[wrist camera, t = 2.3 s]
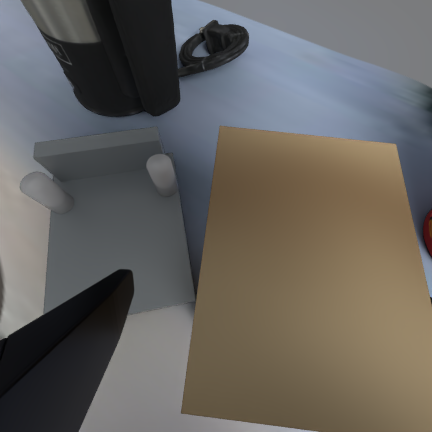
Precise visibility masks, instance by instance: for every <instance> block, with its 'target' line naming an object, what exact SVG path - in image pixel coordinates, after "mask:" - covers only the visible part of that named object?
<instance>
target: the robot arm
mask: <svg viewBox="0 0 432 432" xmlns="http://www.w3.org/2000/svg"><path fill="white" fill-rule="evenodd" d="M133 296H134V279H133V272H132V270H130V269H119V270H117V271H115V272H113V273H112V274H110V275H108V276H107V277H105V278H103V279H102V280H100V281H98V282H97V283H95V284H93V285H92V286H90V287H88V288H87V289H85V290H84V291H82V292H80V293H79V294H77V295H75V296H74V297H72V298H70V299H69V300H67V301H65V302H64V303H62V304H60V305H59V306H57V307H55V308H54V309H52V310H50V311H49V312H47V313H45V314H44V315H42V316H40V317H39V318H37V319H35V320H34V321H32V322H30V323H29V324H27V325H25V326H24V327H22V328H20V329H19V330H17V331H15V332H14V333H12V334H10V335H9V336H8V338H4V339H2V340H0V432H79V430H80V427H81V425H82V423H83V420H84V418H85V416H86V414H87V411H88V409H89V407H90V405H91V402H92V400H93V398H94V396H95V393H96V391H97V389H98V387H99V384H100V382H101V380H102V378H103V375H104V373H105V371H106V369H107V366H108V364H109V362H110V360H111V357H112V355H113V353H114V350H115V348H116V346H117V344H118V341H119V339H120V336H121V333H122V330H123V327H124V324H125V321H126V318H127V315H128V311H129V308H130V305H131V302H132V299H133ZM430 300H431V304H432V298H431V297H430Z"/></svg>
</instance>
